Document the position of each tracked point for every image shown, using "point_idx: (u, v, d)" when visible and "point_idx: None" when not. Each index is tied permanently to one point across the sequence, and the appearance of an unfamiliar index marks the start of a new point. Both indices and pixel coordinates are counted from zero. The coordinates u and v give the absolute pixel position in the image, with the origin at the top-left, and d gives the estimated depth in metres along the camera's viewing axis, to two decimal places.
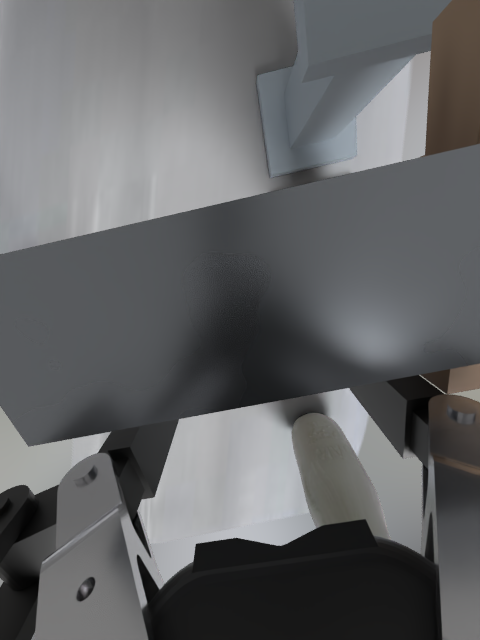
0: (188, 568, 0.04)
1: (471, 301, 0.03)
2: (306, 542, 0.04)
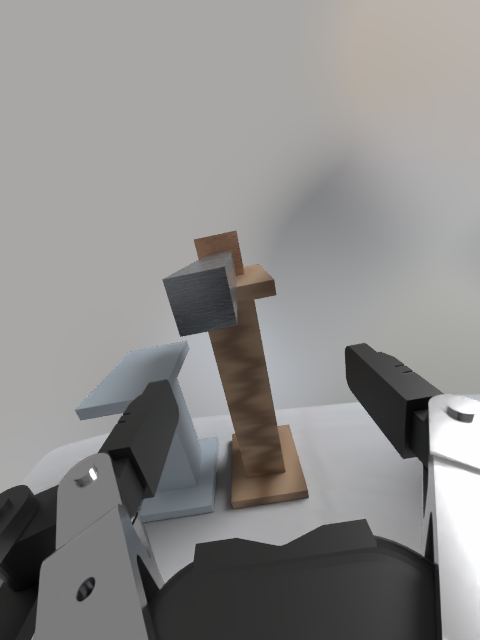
0: (188, 568, 0.04)
1: (215, 258, 0.17)
2: (306, 542, 0.04)
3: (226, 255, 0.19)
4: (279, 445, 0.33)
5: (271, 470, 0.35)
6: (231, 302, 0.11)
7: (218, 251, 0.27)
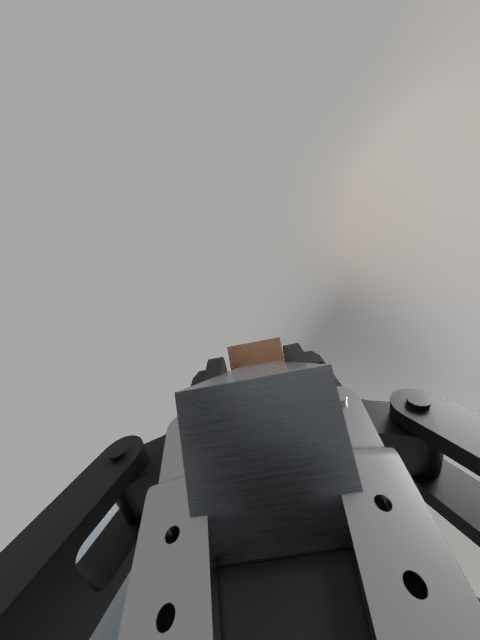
0: None
1: (264, 365, 0.11)
2: None
3: None
4: None
5: None
6: (353, 466, 0.04)
7: (256, 361, 0.21)
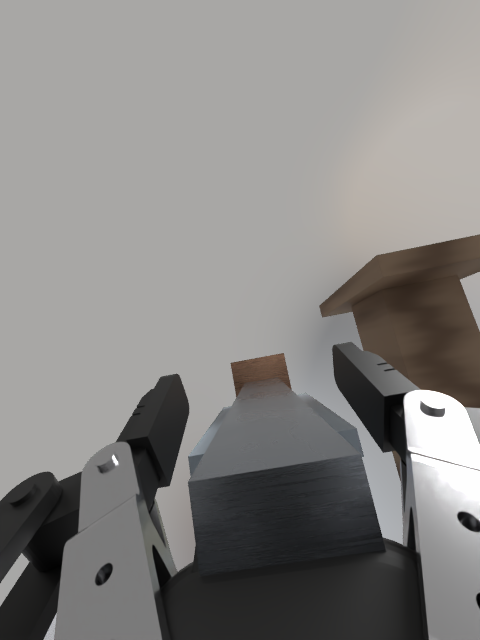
0: (188, 568, 0.04)
1: (272, 396, 0.11)
2: None
3: (285, 389, 0.12)
4: None
5: None
6: None
7: (260, 378, 0.21)
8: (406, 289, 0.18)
